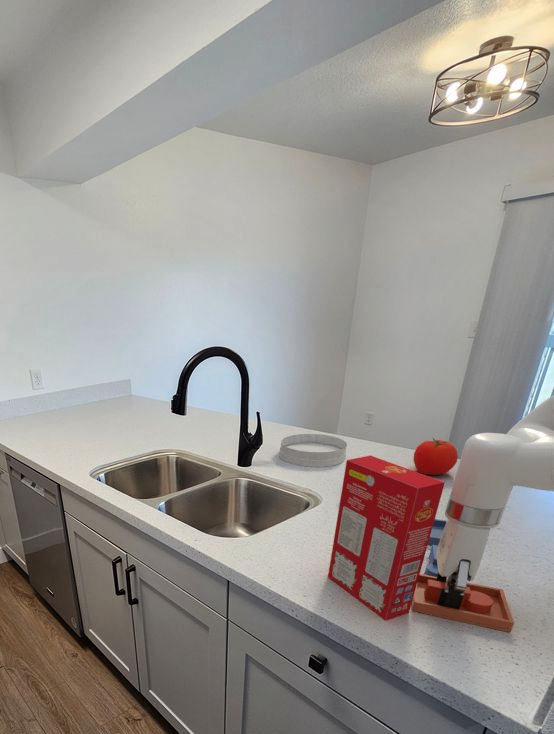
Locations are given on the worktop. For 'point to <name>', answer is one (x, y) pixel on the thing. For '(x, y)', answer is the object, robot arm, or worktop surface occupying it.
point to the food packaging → (383, 533)
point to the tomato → (435, 457)
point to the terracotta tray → (494, 619)
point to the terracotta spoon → (470, 600)
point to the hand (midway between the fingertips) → (445, 598)
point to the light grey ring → (313, 450)
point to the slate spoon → (432, 563)
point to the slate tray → (436, 532)
